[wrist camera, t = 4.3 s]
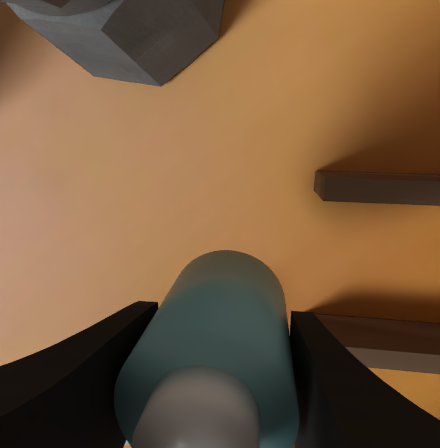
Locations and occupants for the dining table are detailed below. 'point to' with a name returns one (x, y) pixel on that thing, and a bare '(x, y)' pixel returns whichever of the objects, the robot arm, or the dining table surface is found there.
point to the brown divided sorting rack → (383, 328)
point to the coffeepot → (126, 34)
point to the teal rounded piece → (213, 362)
